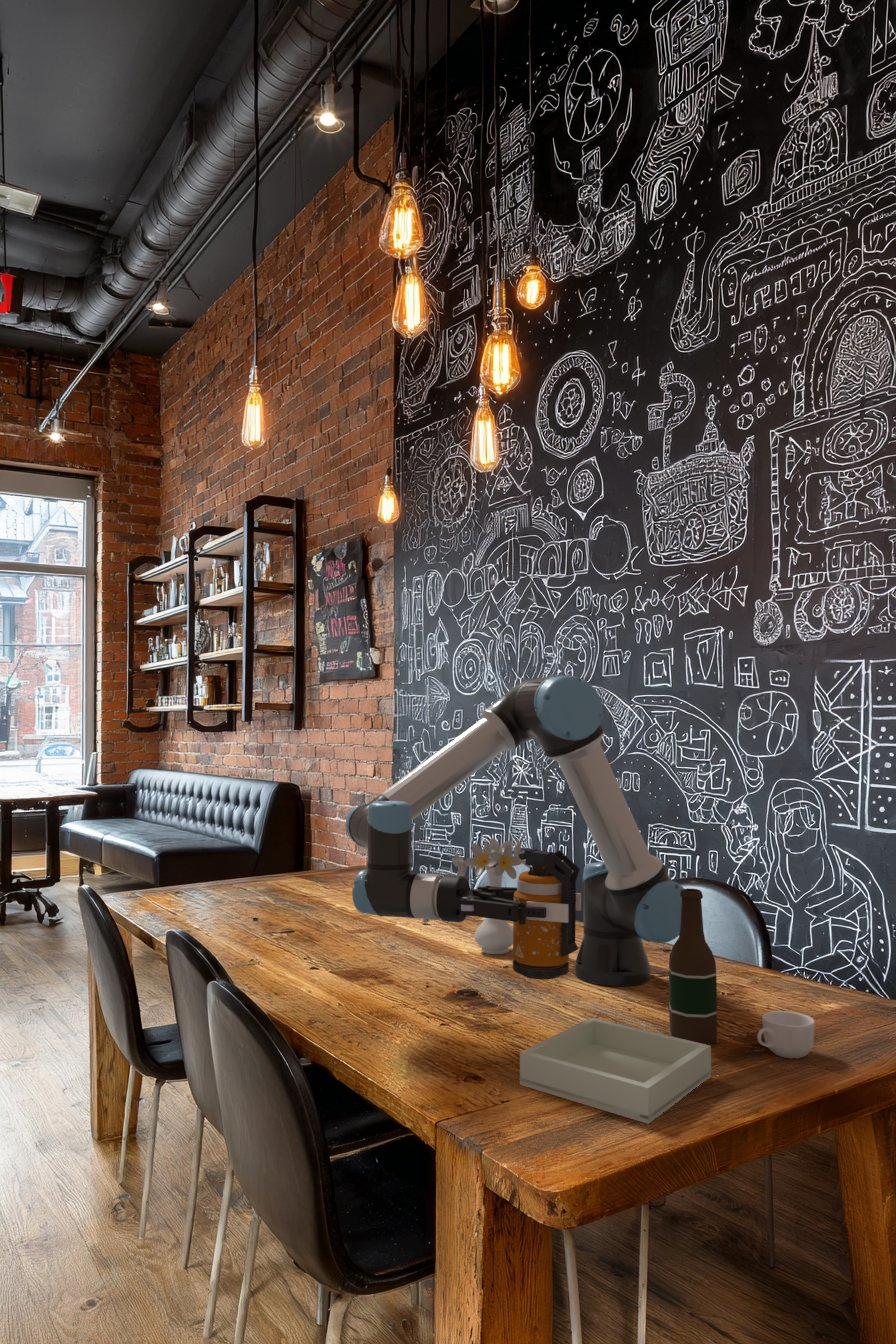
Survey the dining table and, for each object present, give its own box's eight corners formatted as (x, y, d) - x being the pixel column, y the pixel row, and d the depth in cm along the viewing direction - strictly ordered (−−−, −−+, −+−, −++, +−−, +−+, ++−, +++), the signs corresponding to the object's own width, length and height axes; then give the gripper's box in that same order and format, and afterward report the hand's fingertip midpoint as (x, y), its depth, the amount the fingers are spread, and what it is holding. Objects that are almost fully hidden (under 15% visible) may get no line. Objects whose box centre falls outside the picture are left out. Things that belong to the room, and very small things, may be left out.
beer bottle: (684, 1048, 145) (682, 895, 146) (659, 1032, 152) (658, 886, 153) (727, 1043, 147) (725, 892, 148) (701, 1028, 154) (699, 884, 156)
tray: (591, 1046, 146) (590, 1017, 146) (711, 1077, 133) (710, 1045, 133) (519, 1084, 130) (519, 1052, 130) (648, 1123, 117) (648, 1088, 118)
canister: (533, 962, 154) (535, 842, 154) (590, 975, 146) (591, 850, 147) (501, 973, 147) (503, 849, 147) (559, 988, 140) (560, 857, 140)
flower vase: (443, 950, 206) (444, 838, 208) (514, 941, 214) (514, 834, 216) (470, 963, 195) (470, 845, 196) (543, 954, 203) (543, 840, 204)
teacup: (789, 1042, 148) (788, 1008, 148) (826, 1058, 141) (826, 1022, 141) (741, 1051, 144) (740, 1016, 144) (776, 1067, 137) (776, 1031, 137)
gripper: (463, 908, 163) (587, 917, 156) (418, 934, 143) (559, 947, 135) (463, 865, 164) (587, 873, 156) (418, 885, 143) (559, 895, 136)
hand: (574, 907), depth 146 cm, fingers closed on canister, 9 cm apart
